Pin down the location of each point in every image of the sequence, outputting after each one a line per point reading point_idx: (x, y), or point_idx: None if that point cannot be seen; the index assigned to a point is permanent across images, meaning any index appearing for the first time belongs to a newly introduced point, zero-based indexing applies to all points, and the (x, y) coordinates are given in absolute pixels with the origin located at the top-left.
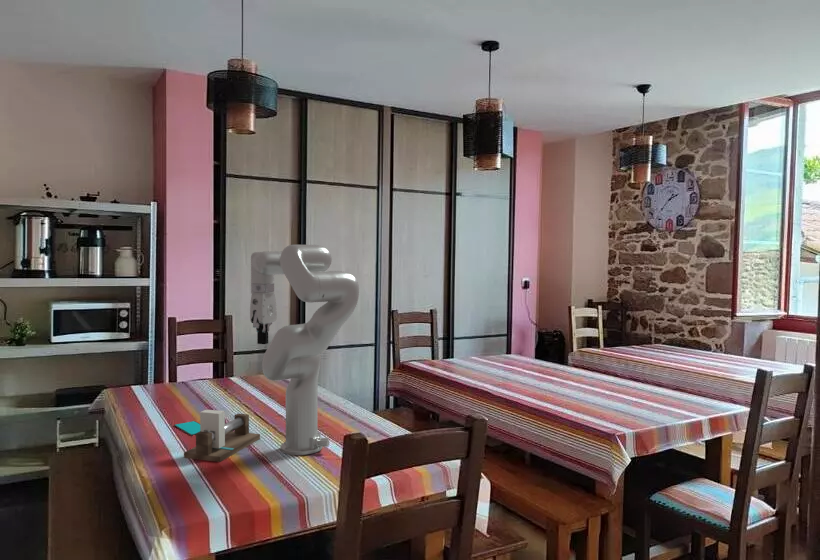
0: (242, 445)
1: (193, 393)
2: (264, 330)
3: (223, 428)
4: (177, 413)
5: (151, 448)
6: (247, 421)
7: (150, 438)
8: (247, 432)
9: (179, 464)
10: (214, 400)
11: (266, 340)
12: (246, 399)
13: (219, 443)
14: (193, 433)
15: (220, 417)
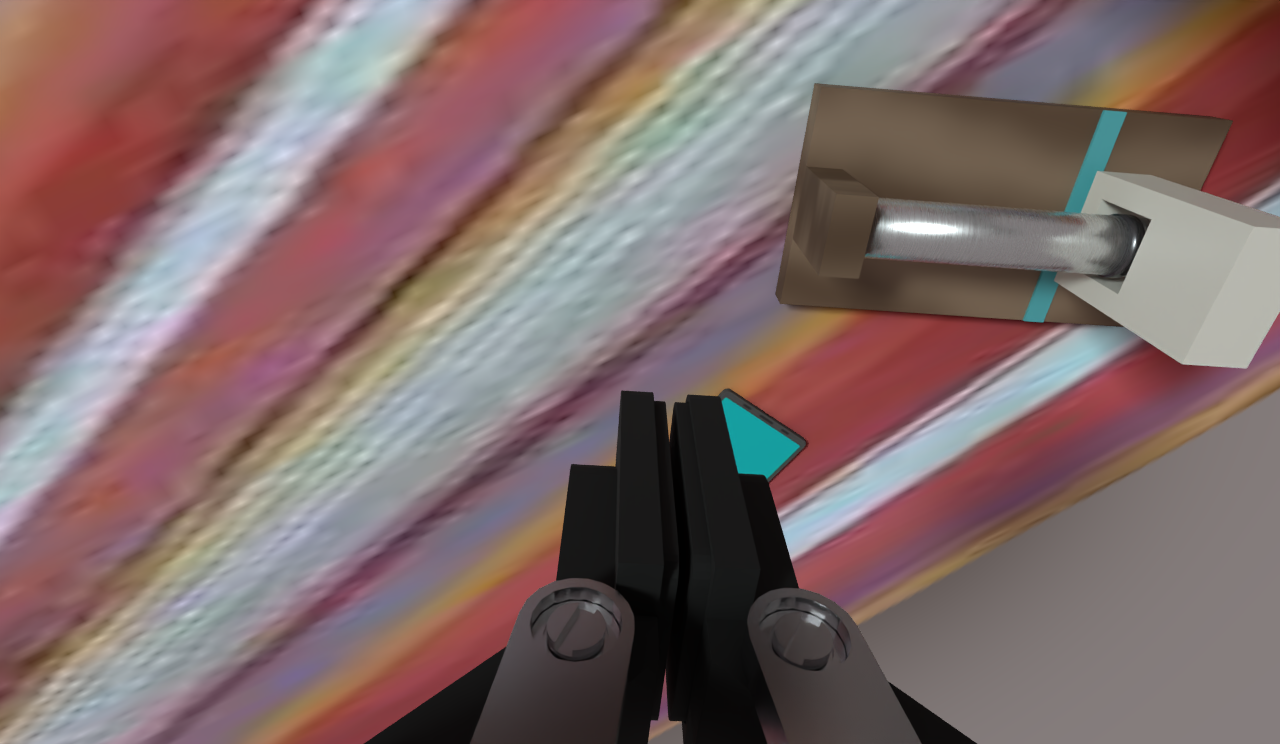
0: (1014, 101)
1: (186, 730)
2: (792, 644)
3: (1179, 196)
4: (497, 640)
5: (980, 495)
6: (843, 184)
7: (852, 560)
8: (823, 169)
9: None
10: (238, 615)
11: (708, 428)
12: (130, 501)
13: (1166, 180)
14: (785, 445)
15: (1277, 221)
